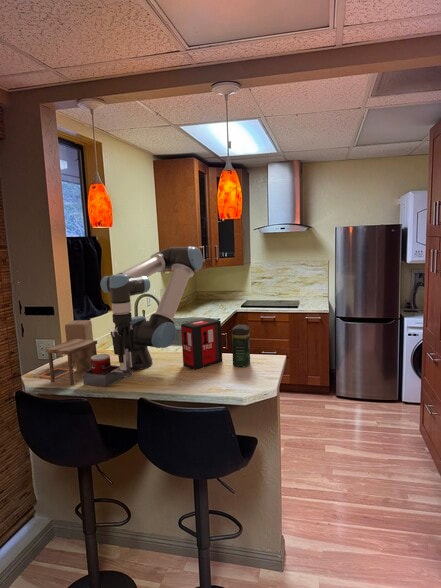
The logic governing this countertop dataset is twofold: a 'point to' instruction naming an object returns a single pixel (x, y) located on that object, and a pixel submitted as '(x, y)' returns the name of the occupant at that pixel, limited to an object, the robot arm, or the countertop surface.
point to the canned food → (101, 364)
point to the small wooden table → (82, 355)
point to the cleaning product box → (201, 343)
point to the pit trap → (56, 373)
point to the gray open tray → (108, 378)
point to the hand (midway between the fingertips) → (126, 368)
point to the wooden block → (78, 332)
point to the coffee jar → (241, 346)
